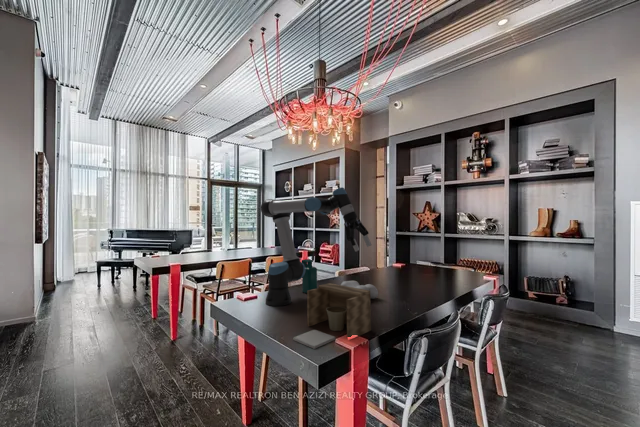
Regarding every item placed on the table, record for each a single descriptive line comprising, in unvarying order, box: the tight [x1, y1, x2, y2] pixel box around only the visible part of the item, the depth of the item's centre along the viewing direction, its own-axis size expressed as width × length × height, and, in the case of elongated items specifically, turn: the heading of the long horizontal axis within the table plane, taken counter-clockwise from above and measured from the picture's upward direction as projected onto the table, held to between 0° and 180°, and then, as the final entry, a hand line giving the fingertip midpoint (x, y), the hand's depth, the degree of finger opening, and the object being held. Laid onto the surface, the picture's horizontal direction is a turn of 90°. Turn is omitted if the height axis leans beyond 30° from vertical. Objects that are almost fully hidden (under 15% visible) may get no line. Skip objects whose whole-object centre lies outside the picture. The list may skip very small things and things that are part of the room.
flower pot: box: [326, 306, 347, 332], centre depth 127 cm, size 9×9×9 cm
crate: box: [306, 282, 372, 338], centre depth 128 cm, size 15×24×17 cm, turn 46°
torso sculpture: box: [340, 280, 379, 300], centre depth 186 cm, size 16×11×30 cm
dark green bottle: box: [301, 259, 318, 294], centre depth 198 cm, size 10×8×22 cm
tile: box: [292, 329, 336, 350], centre depth 115 cm, size 12×12×1 cm
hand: (363, 248), depth 158 cm, fingers open, 13 cm apart
